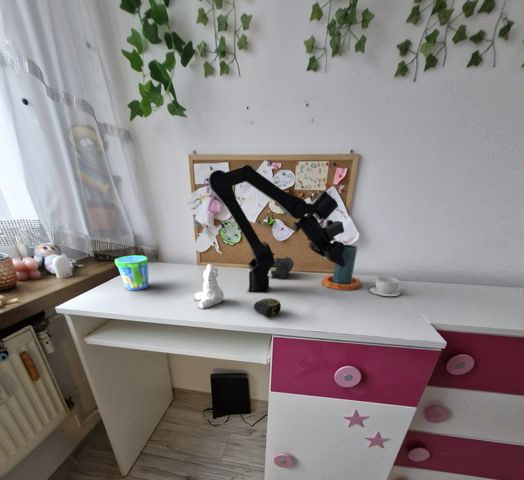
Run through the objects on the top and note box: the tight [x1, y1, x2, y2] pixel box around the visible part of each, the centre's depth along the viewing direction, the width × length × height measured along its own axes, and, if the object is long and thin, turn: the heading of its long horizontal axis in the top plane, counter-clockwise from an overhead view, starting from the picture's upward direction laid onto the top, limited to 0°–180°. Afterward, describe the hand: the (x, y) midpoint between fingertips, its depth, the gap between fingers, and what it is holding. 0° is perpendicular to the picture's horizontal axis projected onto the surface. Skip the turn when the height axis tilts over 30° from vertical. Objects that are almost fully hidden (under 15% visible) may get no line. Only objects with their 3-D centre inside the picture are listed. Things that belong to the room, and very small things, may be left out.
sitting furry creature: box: [194, 263, 225, 309], centre depth 85 cm, size 10×9×12 cm
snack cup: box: [114, 255, 149, 291], centre depth 97 cm, size 16×10×10 cm
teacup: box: [369, 276, 403, 297], centre depth 96 cm, size 10×10×5 cm
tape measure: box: [253, 298, 282, 318], centre depth 79 cm, size 7×7×4 cm
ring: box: [322, 274, 362, 291], centre depth 104 cm, size 14×14×2 cm
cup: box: [331, 244, 358, 284], centre depth 100 cm, size 7×7×14 cm
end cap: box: [270, 256, 294, 280], centre depth 112 cm, size 10×7×7 cm
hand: (338, 263), depth 100 cm, fingers open, 9 cm apart
